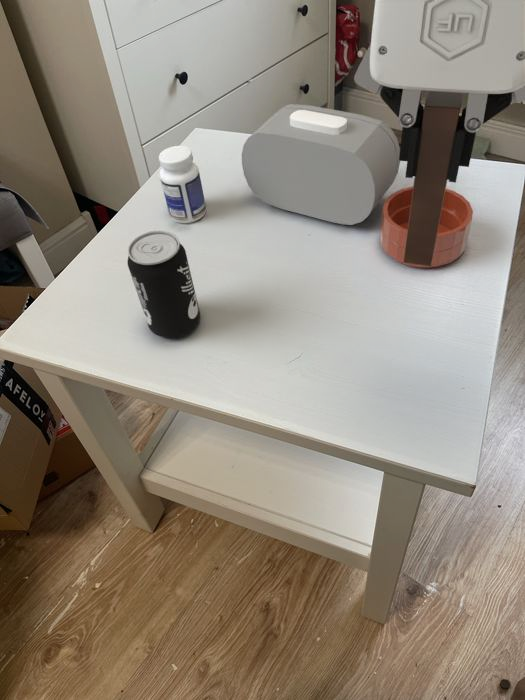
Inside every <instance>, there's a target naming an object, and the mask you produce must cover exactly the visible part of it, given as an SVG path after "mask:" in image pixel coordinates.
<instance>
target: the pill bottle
mask: <svg viewBox="0 0 525 700" xmlns="http://www.w3.org/2000/svg"><path fill="white" fill-rule="evenodd" d="M158 160H159V165H160V167H161V169H160V171H159V179H160V183H161V188H162V192H163V195H164V198H165V202H166V206H167V211H168V214H169V217H170V218H171V219H172V220H173V221H174V222H176V223H179V224H190V223H195V222H196V221H198V220H200V219H202V218H203V217H204V216H205V214H206V212H207V205H206V199H205V195H204V189H203V185H202V180H201V175H200V170H199V167H198V165H197V164H196V163H195V162H194V156H193V152H192V149H191V148H190V147H189V146H186V145H173V146H170V147H167V148H165V149H163V150H162V151H161V152H160V153H159V155H158Z"/></svg>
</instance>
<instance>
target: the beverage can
mask: <svg viewBox="0 0 525 700" xmlns="http://www.w3.org/2000/svg"><path fill="white" fill-rule="evenodd" d="M127 254H128V256H127V267H128V270H129V273H130V276H131V279H132V282H133V285H134V289H135V291H136V294H137V297H138V300H139V303H140V306H141V308H142V312H143V315H144V318H145V321H146V323H147V327H148V328H149V330H150V332H152V333H153V335H156V336H158V337H161V338H164V339H178V338H181V337H184V336H186V335H188V334H189V333H191V332H192V331H193V330H194V329H195V327H197V325H198V323H199V322H200V318H201V312H200V308H199V303H198V299H197V298H198V297H197V295H196V290H195V285H194V281H193V278H192V272H191V269H190V268H191V267H190V264H189V260H188V257H187V251H186V249H185V247H184V245H183V244H182V243H181V242H180V240H179V238H178V236H177V235H176V234H174V233H173V232H171V231H167V230H152V231H148V232H144V233H142V234H140V235H138V236H137V237H135V238H134V239H133V240H132V241H131V242H130V243H129V245H128V247H127Z"/></svg>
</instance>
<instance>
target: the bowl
mask: <svg viewBox="0 0 525 700" xmlns="http://www.w3.org/2000/svg"><path fill="white" fill-rule="evenodd" d="M413 186H414V185H412V186H408V187H405V188H401V189H399V190H397V191H395V192H393V193H392V194H390V195H389V196H388V197H387V198H386V199H385V201H384V203H383V206H382V211H381V223H380V235H379V241H380V245H381V248H382V250H384V252H385V253H386V254H387V255H388V256H389V257H391V258H392V259H393V260H395V261H396V262H398V263H399V264H400V263H401V265H405V266H408V267H414V268H420V269H430V268H438V267H442V266H445V265H447V264H449V263H450V264H451V263H452V262H453V261H456V260H457V259H459V257H461V255H462V254H463V253H464V252H465V250H466V247H467V242H468V237H469V233H470V229H471V224H472V219H473V214H474V210H473V207H472V205H471V203H470V201H468V200H467V199H466V198H465V197H464V195H462V194H460V193H458V192H456V191H455V190H452V189H450V188H446V189H445V195H444V200H443V205H442V211H441V216H440V222H439V227H438V232H437V238H436V243H435V249H434V254H433V259H432V264H431V266H425V265H417V264H410V263H404V262H403V260H404V252H405V245H406V238H407V230H408V223H409V215H410V208H411V201H412V193H413Z"/></svg>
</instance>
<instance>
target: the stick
mask: <svg viewBox="0 0 525 700" xmlns="http://www.w3.org/2000/svg"><path fill="white" fill-rule="evenodd" d="M463 96H464V93H460V92H443V91H428V92H427V95H426V98H425V102H424V106H423V107H424V113H423V120H422V127H421V129H422V131H421V138H420V146H419V153H418V160H417V167H416V174H415V177H414V180H413V185H412V186H413V193H412V201H411V208H410V215H409V223H408V230H407V238H406V245H405V252H404V260H403V262H404V263H410V264H417V265H425V266H431V264H432V259H433V254H434V249H435V243H436V238H437V232H438V227H439V222H440V216H441V211H442V205H443V200H444V195H445V189H447V184H448V180H447V174H448V169H449V163H450V158H451V152H452V147H453V142H454V136H455V132H456V129H457V124H458V119H459V116H460V113H461V107H462V101H463Z"/></svg>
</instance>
